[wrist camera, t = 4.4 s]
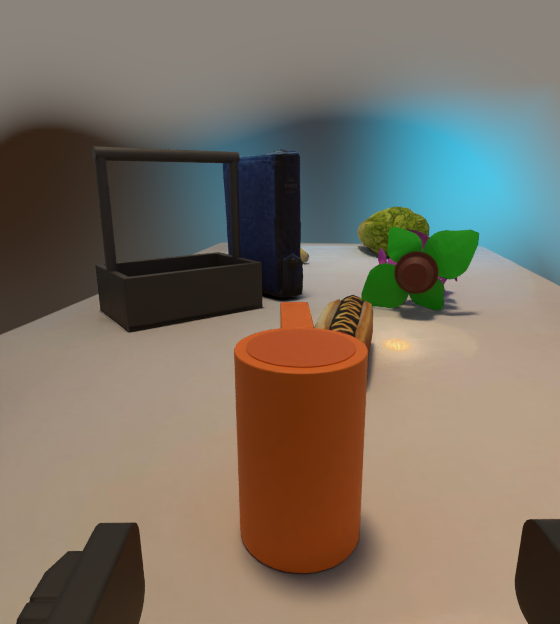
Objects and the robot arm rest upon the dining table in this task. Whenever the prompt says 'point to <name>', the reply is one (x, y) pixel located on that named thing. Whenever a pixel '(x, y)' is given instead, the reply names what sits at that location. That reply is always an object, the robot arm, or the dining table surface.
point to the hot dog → (349, 318)
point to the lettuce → (380, 223)
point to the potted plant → (418, 267)
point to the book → (270, 218)
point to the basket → (173, 260)
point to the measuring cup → (300, 442)
